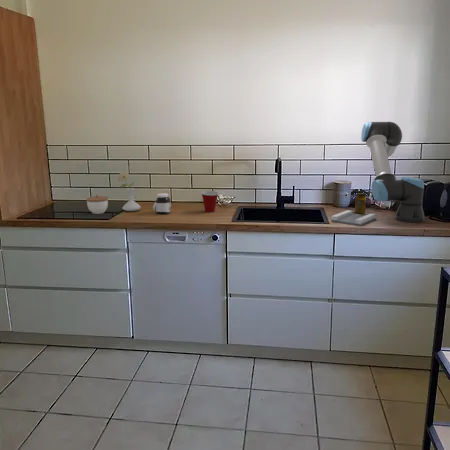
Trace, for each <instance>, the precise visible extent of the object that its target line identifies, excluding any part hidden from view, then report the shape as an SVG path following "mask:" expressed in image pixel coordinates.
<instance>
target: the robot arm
mask: <svg viewBox="0 0 450 450" xmlns="http://www.w3.org/2000/svg"><path fill="white" fill-rule="evenodd" d="M360 139H361V142H363V143H365V145H366V146H367V147H368V148H369V149H370V155H371V156H370V157H371V161H372V165H373V168H374V171H375V176H376V178H375V179H373V181H372V183H371V190H362V189H360V191H358V189H355V190H353V189H352V190H351V196H353V195H354V193H355V194H356V193H363V192H364V193H366V194H367V195H368V196H367V197H369V200H372V198H374V200H375V201H376V202H383V203H384V202H399V206H398V208H397V210H396V212H395V217H394V219H395V220H397V221H400V222H406V223H421V222H424V221H425V212H424V209H423V201H424V199H423V197H424V190H425V182H424V180H423V179H420V178H414V177H408V176H402V177H401V179H396V178H397V177H396V175H395V174H394V173H392V170H391V166H390V163H389V160H388V157H389V156H391V155H392V154H393V153H394V154H395V151H396V149H397V147H398V146H399V145H400V144H401V142H402V139H403V132H402V130H401V127H400V126H399V125H398V124H397V123H395V122H394V121H368V122H367V121H366V122H365V123H364V124H363V127H362V130H361V138H360ZM394 154H393V155H394ZM348 194H349V193H347V194H346V195H345V196H347V197H346V198H347V199H349V196H348ZM345 196H344V197H345Z"/></svg>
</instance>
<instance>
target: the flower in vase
mask: <svg viewBox="0 0 450 450" xmlns="http://www.w3.org/2000/svg"><path fill="white" fill-rule="evenodd" d="M129 177H130V173H129V172H128V171H126V170H124V171H121V172H119V174H118V175H117V180H118V182H120V183H121V182H122V183H123V182H125V183H123V184H121V185H120V188H125V187H127V188H126V191H127V192H128V201H127V202H126V203H124V205H123V206H122V207H121V208H122V210H123V211H127V212H136V211H138V210H141V208H142V207H141V205H140V204H138V203H137V202H136V201H134V196H133V195H134V191H135V188H134V182H132V183H129V184H128V183H127V180H128V179H129ZM132 186H133V187H132Z"/></svg>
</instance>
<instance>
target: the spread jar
mask: <svg viewBox="0 0 450 450" xmlns="http://www.w3.org/2000/svg"><path fill="white" fill-rule="evenodd" d="M156 195H157V196H156V197H157V198H156V200H155V202H154V204H153V206H152V209H153V211H155V212H156V213H157V214H158V215H168V214H170V213H171V210H172V203H171V202H172V201H171V198H170V197H169V196H170V195H169V193H166V192H165V193H157V194H156Z"/></svg>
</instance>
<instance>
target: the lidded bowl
mask: <svg viewBox="0 0 450 450" xmlns="http://www.w3.org/2000/svg"><path fill="white" fill-rule="evenodd" d="M86 204H87V208H88V210H89V211H90V212H91V213H92V214H93V215H99V214H104V213H105V211H107V209H108V207H109V197H107V196H99V195H98V194H96V195H95V196H90V197H87V198H86Z"/></svg>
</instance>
